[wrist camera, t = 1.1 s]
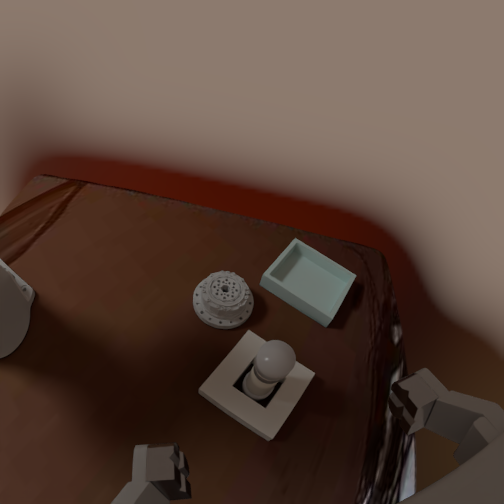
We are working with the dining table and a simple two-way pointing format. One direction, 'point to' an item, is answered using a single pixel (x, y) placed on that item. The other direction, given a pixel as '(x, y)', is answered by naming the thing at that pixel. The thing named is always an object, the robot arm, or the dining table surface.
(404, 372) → the dining table surface
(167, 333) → the dining table surface
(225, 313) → the mechanical component
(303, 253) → the parts tray
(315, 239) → the dining table surface
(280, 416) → the grey square frame
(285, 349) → the grey peg
